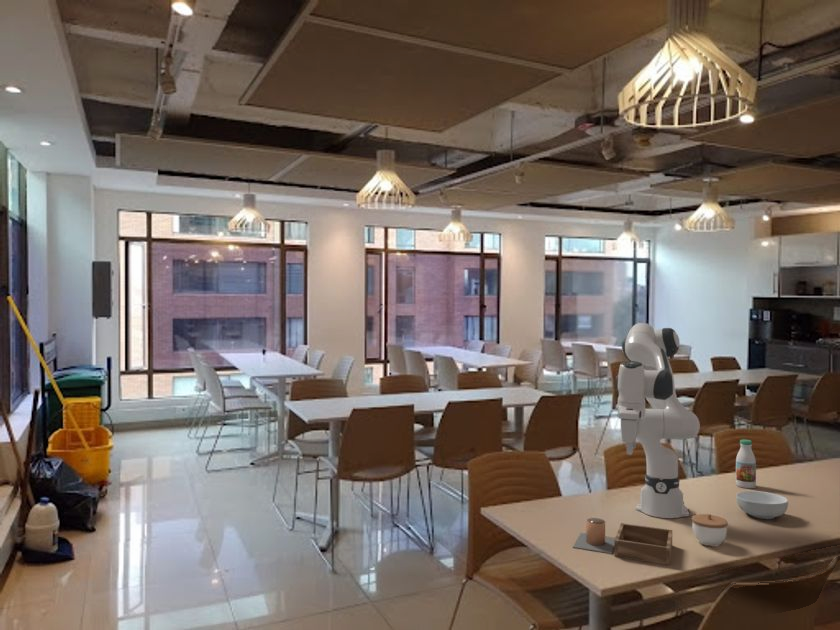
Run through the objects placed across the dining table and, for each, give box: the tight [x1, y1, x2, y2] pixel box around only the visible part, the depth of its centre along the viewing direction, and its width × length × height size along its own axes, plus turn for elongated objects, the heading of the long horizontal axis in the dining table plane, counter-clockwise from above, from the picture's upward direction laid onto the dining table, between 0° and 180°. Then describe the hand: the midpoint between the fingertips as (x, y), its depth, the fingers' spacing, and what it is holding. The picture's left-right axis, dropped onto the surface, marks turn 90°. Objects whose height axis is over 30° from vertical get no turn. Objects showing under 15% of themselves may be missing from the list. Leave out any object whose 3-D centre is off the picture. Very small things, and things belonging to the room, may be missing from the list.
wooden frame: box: [613, 522, 673, 566], centre depth 198 cm, size 17×16×5 cm
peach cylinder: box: [585, 517, 606, 546], centre depth 204 cm, size 6×6×7 cm
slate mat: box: [572, 532, 615, 555], centre depth 204 cm, size 14×12×1 cm
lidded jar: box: [691, 513, 729, 547], centre depth 205 cm, size 11×11×9 cm
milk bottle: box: [735, 439, 757, 489], centre depth 271 cm, size 8×8×20 cm
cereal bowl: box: [735, 490, 789, 520], centre depth 232 cm, size 17×17×7 cm
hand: (631, 451), depth 209 cm, fingers open, 8 cm apart
